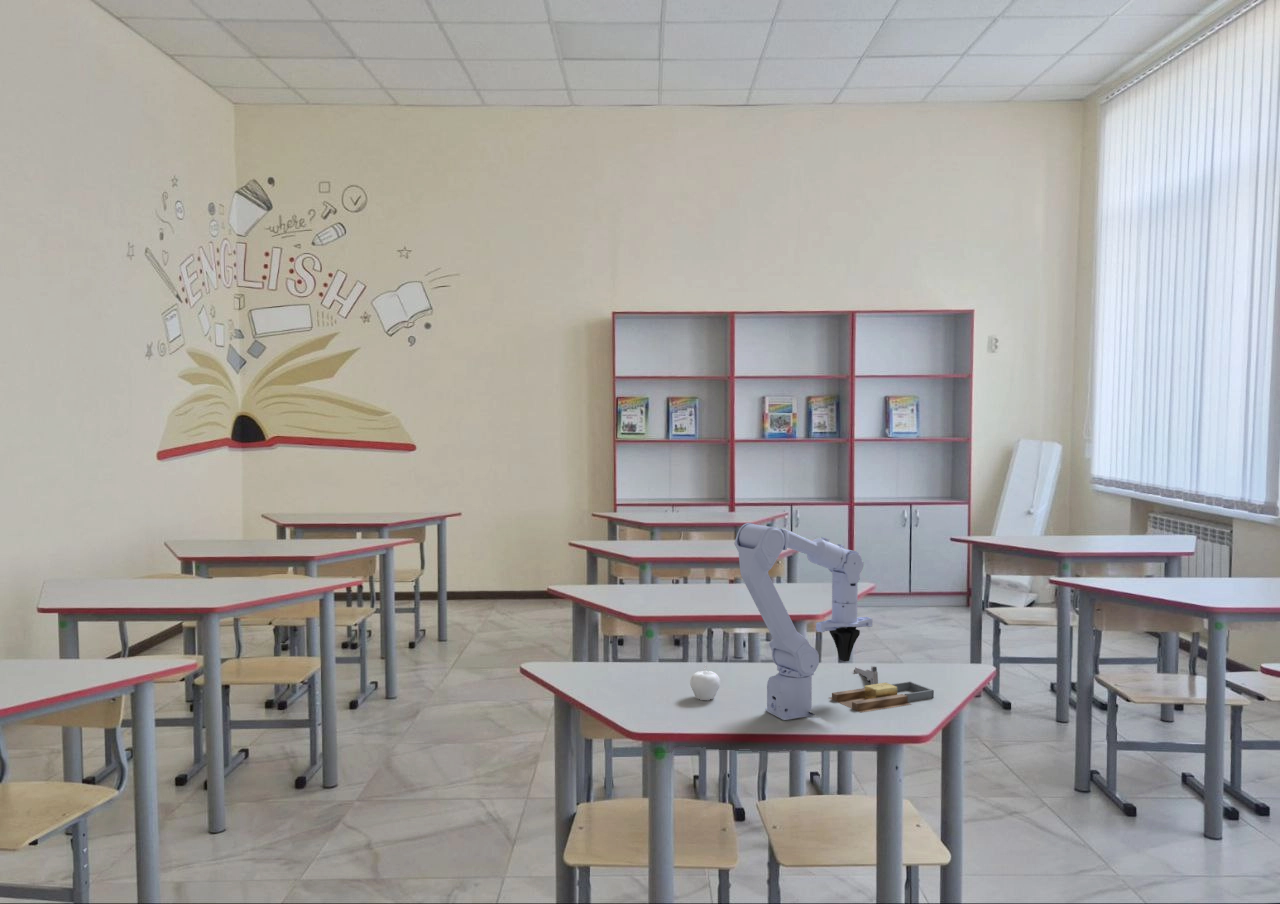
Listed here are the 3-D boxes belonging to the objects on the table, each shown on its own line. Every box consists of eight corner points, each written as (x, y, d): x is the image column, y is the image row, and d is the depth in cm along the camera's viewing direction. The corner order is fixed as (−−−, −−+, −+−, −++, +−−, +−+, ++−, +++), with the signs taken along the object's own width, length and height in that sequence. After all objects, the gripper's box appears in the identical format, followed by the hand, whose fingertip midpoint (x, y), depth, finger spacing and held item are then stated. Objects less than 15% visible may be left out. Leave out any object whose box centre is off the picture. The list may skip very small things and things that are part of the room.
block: (875, 703, 211) (875, 690, 210) (864, 698, 214) (864, 685, 214) (897, 700, 213) (897, 686, 213) (885, 695, 217) (885, 682, 217)
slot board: (860, 717, 204) (860, 705, 204) (828, 702, 215) (828, 691, 215) (911, 709, 210) (911, 697, 210) (877, 695, 221) (877, 684, 221)
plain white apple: (690, 703, 215) (690, 668, 215) (689, 693, 222) (689, 660, 222) (721, 703, 215) (720, 668, 215) (719, 694, 222) (719, 660, 222)
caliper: (878, 694, 223) (878, 668, 222) (873, 694, 223) (873, 668, 222) (857, 671, 243) (857, 647, 243) (853, 671, 243) (853, 647, 243)
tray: (905, 707, 212) (905, 694, 211) (883, 697, 219) (883, 685, 219) (933, 702, 215) (933, 690, 215) (910, 693, 222) (910, 681, 222)
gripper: (829, 607, 208) (829, 667, 208) (881, 601, 214) (880, 660, 214) (810, 601, 214) (810, 660, 214) (861, 596, 220) (861, 653, 221)
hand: (844, 660), depth 215 cm, fingers closed
